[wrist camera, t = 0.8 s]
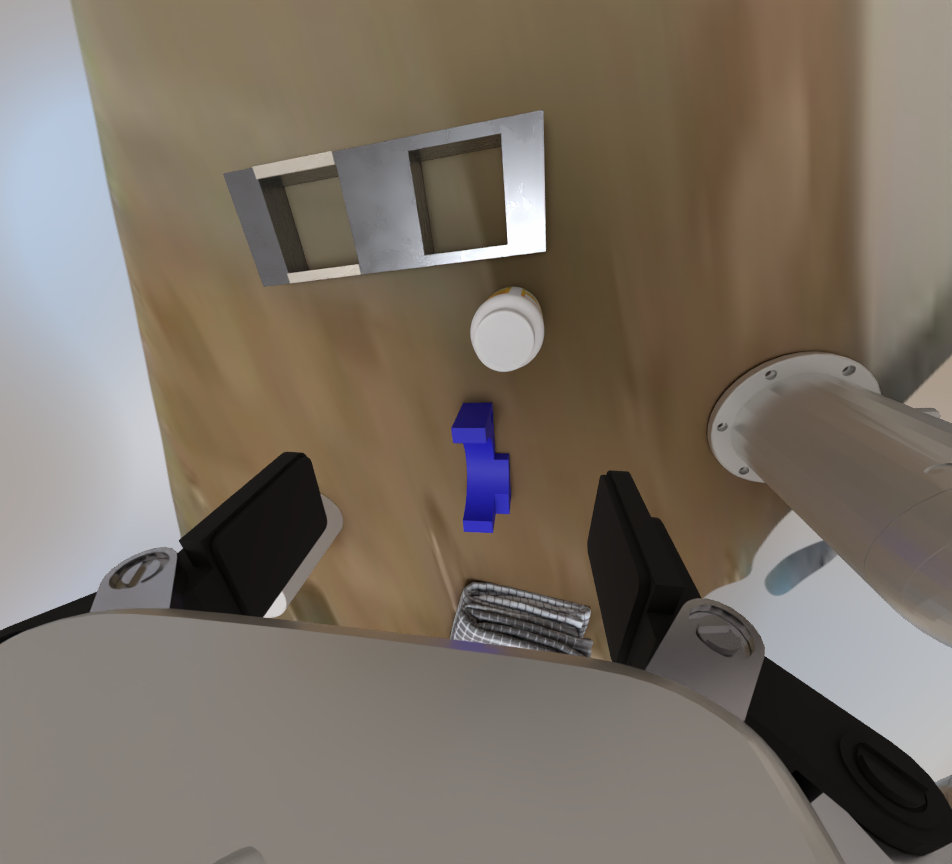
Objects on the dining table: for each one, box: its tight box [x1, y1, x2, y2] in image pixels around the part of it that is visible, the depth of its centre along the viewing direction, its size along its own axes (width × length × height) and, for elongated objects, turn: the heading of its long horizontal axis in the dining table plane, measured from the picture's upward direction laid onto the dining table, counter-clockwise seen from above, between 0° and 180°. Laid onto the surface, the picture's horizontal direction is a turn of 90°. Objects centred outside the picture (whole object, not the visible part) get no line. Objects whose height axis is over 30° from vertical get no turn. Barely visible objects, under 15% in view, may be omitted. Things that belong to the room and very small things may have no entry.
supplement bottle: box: [470, 287, 544, 372], centre depth 26 cm, size 5×5×10 cm
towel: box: [450, 582, 593, 658], centre depth 47 cm, size 15×18×8 cm
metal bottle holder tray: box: [223, 110, 546, 287], centre depth 27 cm, size 24×8×3 cm, turn 97°
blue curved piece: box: [451, 403, 511, 533], centre depth 35 cm, size 12×4×6 cm, turn 5°
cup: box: [264, 494, 343, 618], centre depth 41 cm, size 8×8×12 cm
